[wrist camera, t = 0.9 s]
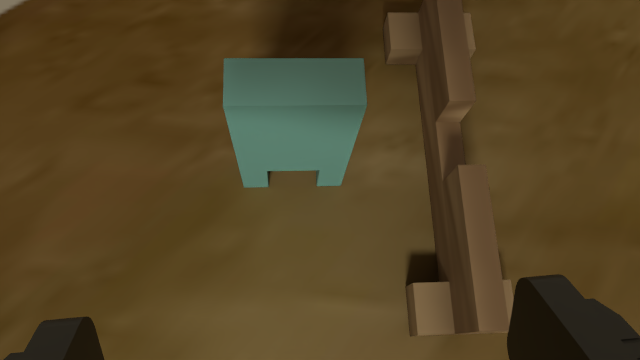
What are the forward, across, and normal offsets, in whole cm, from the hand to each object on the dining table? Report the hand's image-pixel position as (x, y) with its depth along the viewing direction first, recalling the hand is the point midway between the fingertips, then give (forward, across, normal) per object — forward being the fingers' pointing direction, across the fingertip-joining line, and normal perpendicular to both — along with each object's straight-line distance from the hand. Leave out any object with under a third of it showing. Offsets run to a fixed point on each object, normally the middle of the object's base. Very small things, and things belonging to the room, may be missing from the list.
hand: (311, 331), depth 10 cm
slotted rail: (+24, -10, +8) cm, 27 cm away
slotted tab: (+24, 0, +8) cm, 25 cm away
